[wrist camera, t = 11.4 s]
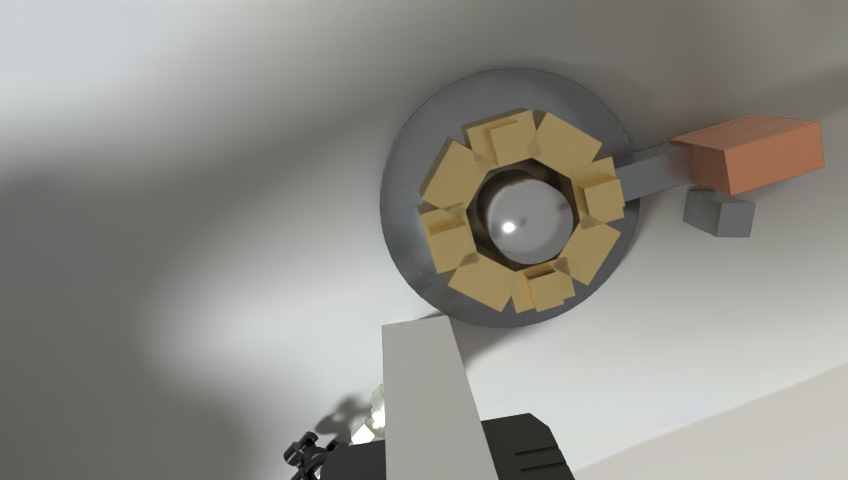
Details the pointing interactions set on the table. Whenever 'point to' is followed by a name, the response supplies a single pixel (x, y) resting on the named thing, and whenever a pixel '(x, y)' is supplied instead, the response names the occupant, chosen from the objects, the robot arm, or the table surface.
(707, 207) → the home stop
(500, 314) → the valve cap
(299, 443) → the valve
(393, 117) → the table surface
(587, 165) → the tan and copper piece
